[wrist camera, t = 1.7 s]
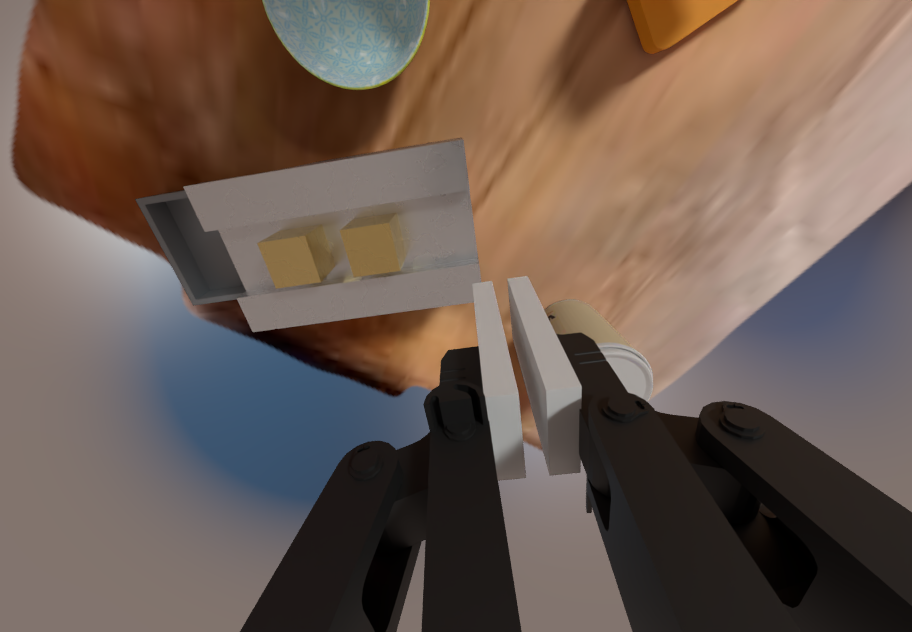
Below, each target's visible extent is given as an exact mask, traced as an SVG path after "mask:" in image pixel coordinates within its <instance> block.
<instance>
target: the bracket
mask: <svg viewBox="0 0 912 632" xmlns="http://www.w3.org/2000/svg"><path fill="white" fill-rule="evenodd" d="M736 1H738V0H627V3H628V6H629V9H630V12H631V15H632V18H633V21H634V23H635V26H636V29H637V32H638V35H639V38H640V41H641V44H642V47H643V49H644V51H645V52H647V53H649V54H654V53H657V52H660V51H662V50H665V49H667V48H669V47H671V46H672V45H674V44H675V43H677V42H678V41H680V40H681V39H683V38H684V37H685V36H687V35H688V34H690V33H691V32H693V31H694V30H696V29H697V28H698V27H700V26H701V25H703V24H704V23H706V22H707V21H709V20H710V19H712V18H713V17H714V16H716V15H717V14H719V13H720V12H722V11H723V10H725V9H726V8H727V7H729V6H730V5H732V4H733V3H735V2H736Z"/></svg>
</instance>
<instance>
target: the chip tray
mask: <svg viewBox="0 0 912 632" xmlns="http://www.w3.org/2000/svg"><path fill="white" fill-rule="evenodd" d="M135 200H136V202H137V203H138V205H139V207H140V209H141V211H142V213H143V214H144V216H145V218H146V220H147V222H148V224H149V225H150V227H151V229H152V231H153V233H154V235H155V236H156V238H157V240H158V242H159V244H160V246H161V247H162V249H163V251H164V253H165V255H166V257H167V258H168V260H169V262H170V264H171V266H172V268H173V269H174V271H175V273H176V275H177V277H178V279H179V280H180V282H181V284H182V286H183V288H184V290H185V291H186V293H187V295H188V297H189V299H190V301H191V302H192V304H193V305H200V304H207V303H214V302H221V301H228V300H236V299H237V297H239V296H240V295H241V294H243V293H244V292H245V291H246V290H245V287H244V285H243V283H242V281H241V279H240V277H239V274H238V272H237V270H236V268H235V266H234V264H233V261H232V259H231V257H230V255H229V253H228V251H227V248H226V246H225V244H224V242H223V240H222V237H221V235H220V233H219V231H218V230H214V231H208V232H204V229H203V227H202V225H201V223H200V221H199V219H198V217H197V215H196V213H195V211H194V209H193V206H192V204H191V202H190V200H189V198H188V196H187V194H186V192H185V190H181V191H175V192H169V193H163V194H158V195H153V196H148V197H143V198H138V199H135Z"/></svg>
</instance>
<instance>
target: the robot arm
mask: <svg viewBox="0 0 912 632" xmlns="http://www.w3.org/2000/svg"><path fill="white" fill-rule="evenodd" d="M507 280H508V291H509V302H510V313H511V324H512V335H513V342H514V346H515V349H516V353H517V357H518V360H519V364H520V368H521V371H522V375H523V379H524V382H525V386H526V390H527V394H528V397H529V401H530V405H531V408H532V412H533V416H534V419H535V423H536V427H537V430H538V434H539V438H540V441H541V445H542V449H543V453H544V456H545V460H546V464H547V467H548V471H549V474H550V475H559V474H570V473H580V463H581V461H582V463H583V466H584V469H585V471H586V474H587V484H586V509H587V513H591V512H592V508H593V511H594V514H595V517H596V521H597V523H598V526H599V530H600V533H601V536H602V539H603V542H604V545H605V548H606V551H607V554H608V557H609V560H610V563H611V567H612V570H613V573H614V576H615V579H616V582H617V585H618V588H619V591H620V594H621V597H622V601H623V604H624V607H625V610H626V613H627V616H628V619H629V622H630V625H631V628H632V631H633V632H912V512H910V511H909V510H908V509H906V508H905V507H903V506H902V505H900V504H899V503H897V502H896V501H894V500H893V499H891V498H890V497H888V496H887V495H886V494H884V493H883V492H881V491H880V490H878V489H877V488H875V487H874V486H872V485H871V484H870V483H868V482H867V481H865V480H864V479H862V478H861V477H859V476H858V475H856V474H855V473H853V472H852V471H850V470H849V469H848V468H846V467H844V466H843V465H842V464H840V463H839V462H837V461H836V460H834V459H833V458H831V457H830V456H828V455H827V454H825V453H824V452H823V451H821V450H820V449H818V448H817V447H815V446H814V445H812V444H811V443H809V442H808V441H806V440H805V439H804V438H802V437H801V436H799V435H798V434H796V433H795V432H793V431H792V430H790V429H789V428H787V427H786V426H784V425H783V424H782V423H780V422H779V421H777V420H775V419H774V418H773V417H771V416H770V415H767V414H766V413H764V412H762V411H760V410H759V409H757V408H754V407H751V406H748V405H745V404H742V403H736V402H727V401H722V402H714V403H710V404H708V405H706V406H705V407H703V409H702V411H701V413H700V415H699V418H695V417H687V416H678V415H670V414H665V413H660V412H657V411H655V410H654V408H653V407H652V406H651V405H650V404H649V403H648V402H647V401H646V400H644V399H642V398H641V397H639V396H637V395H635V394H631V393H628V391H627V390H626V388H625V387H624V385H623V384H622V382H621V381H620V379H619V378H618V376H617V375H616V373H615V372H614V370H613V369H612V367H611V365H610V364H609V362H608V361H606V358H605V356H604V355H603V353H602V352H601V350H600V349H599V347H598V346H597V344H596V343H595V341H594V340H593V339H591V338H590V337H588V336H586V335H585V334H583V333H582V332H579V333H571V334H563V335H556V333H555V331H554V329H553V327H552V325H551V323H550V321H549V319H548V317H547V315H546V313H545V311H544V309H543V307H542V305H541V303H540V301H539V299H538V297H537V295H536V292H535V290H534V288H533V286H532V284H531V282H530V280H529V278H528V276H524V277H517V278H510V279H507ZM472 286H473V296H474V306H475V315H476V325H477V335H478V345H479V346H477V347H469V348H461V349H453V350H448V351H447V353H446V354H445V356H444V357H443V358H442V360H441V370H440V372H441V373H440V384H439V386H438V387H436V388H435V389H433V390H432V391H431V392H430V393H429V394H428V395H427V396H426V399H425V402H424V408H425V413H426V417H427V420H428V425H429V429H430V432H429V433H428V434H427V435H426V436H425V437H424V438H422V439H421V440H419V441H417V442H415V443H413V444H411V445H408V446H406V447H403V448H401V449H398V450H395V448H394V447H393V446H391V445H390V444H389V443H386V442H382V441H371V442H367V443H364V444H361V445H359V446H357V447H355V448H354V449H352V450H351V451H349V452H348V453H347V454H346V455H345V456H344V457H343V459H342V460H341V461H340V462H339V464H338V466H337V467H336V469H335V471H334V472H333V474H332V476H331V477H330V479H329V481H328V482H327V484H326V486H325V488H324V489H323V491H322V493H321V494H320V496H319V498H318V500H317V501H316V503H315V505H314V506H313V508H312V510H311V511H310V513H309V515H308V517H307V518H306V520H305V522H304V524H303V525H302V527H301V529H300V530H299V532H298V534H297V535H296V537H295V539H294V540H293V542H292V544H291V546H290V547H289V549H288V551H287V553H286V554H285V556H284V557H283V559H282V561H281V563H280V564H279V566H278V568H277V569H276V571H275V573H274V575H273V576H272V578H271V580H270V581H269V583H268V585H267V586H266V588H265V590H264V592H263V593H262V595H261V597H260V598H259V600H258V602H257V604H256V605H255V607H254V609H253V610H252V612H251V614H250V616H249V617H248V619H247V621H246V622H245V624H244V626H243V627H242V629H241V631H240V632H396V631H397V627H398V624H399V620H400V616H401V613H402V609H403V606H404V602H405V599H406V595H407V591H408V588H409V584H410V581H411V577H412V574H413V570H414V567H415V563H416V560H417V556H418V553H419V549H420V545H421V541H423V540H426V546H425V568H424V590H423V614H422V632H521V626H520V620H519V613H518V606H517V600H516V594H515V588H514V581H513V574H512V569H511V562H510V555H509V549H508V543H507V536H506V530H505V524H504V517H503V510H502V504H501V498H500V491H499V485H498V480H499V481H500V480H509V479H520V478H526V471H525V460H524V449H523V437H522V426H521V414H520V403H519V393H518V389H517V384H516V380H515V376H514V372H513V368H512V363H511V359H510V355H509V351H508V347H507V342H506V338H505V334H504V330H503V325H502V321H501V317H500V313H499V309H498V304H497V300H496V296H495V292H494V288H493V283H492V281H488V282H481V283H474V284H472Z"/></svg>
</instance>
